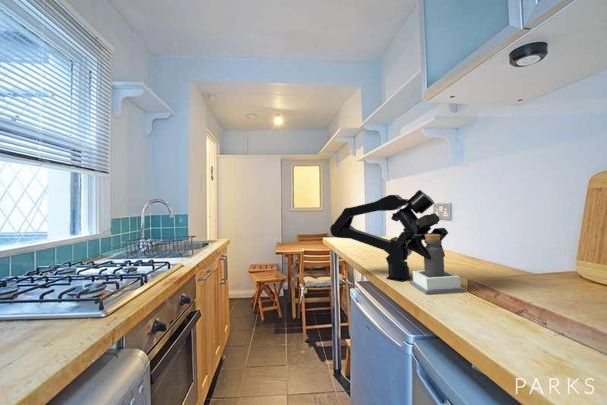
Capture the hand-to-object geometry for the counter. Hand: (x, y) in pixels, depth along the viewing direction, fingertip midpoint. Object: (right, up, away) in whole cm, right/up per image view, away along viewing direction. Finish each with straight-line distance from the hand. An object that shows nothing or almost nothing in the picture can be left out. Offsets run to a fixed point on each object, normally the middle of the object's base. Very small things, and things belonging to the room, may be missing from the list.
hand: (437, 257), depth 92 cm
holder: (0, -10, +1) cm, 10 cm away
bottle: (0, -8, +1) cm, 8 cm away
